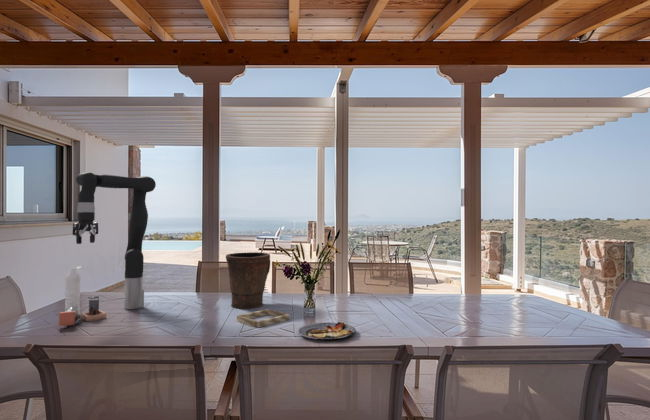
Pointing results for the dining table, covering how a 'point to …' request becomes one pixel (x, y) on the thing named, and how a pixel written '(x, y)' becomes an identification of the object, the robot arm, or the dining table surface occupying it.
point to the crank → (68, 316)
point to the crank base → (78, 321)
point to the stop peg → (93, 305)
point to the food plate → (327, 330)
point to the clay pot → (247, 278)
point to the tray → (93, 316)
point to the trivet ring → (247, 320)
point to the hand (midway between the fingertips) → (85, 243)
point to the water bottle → (73, 289)
